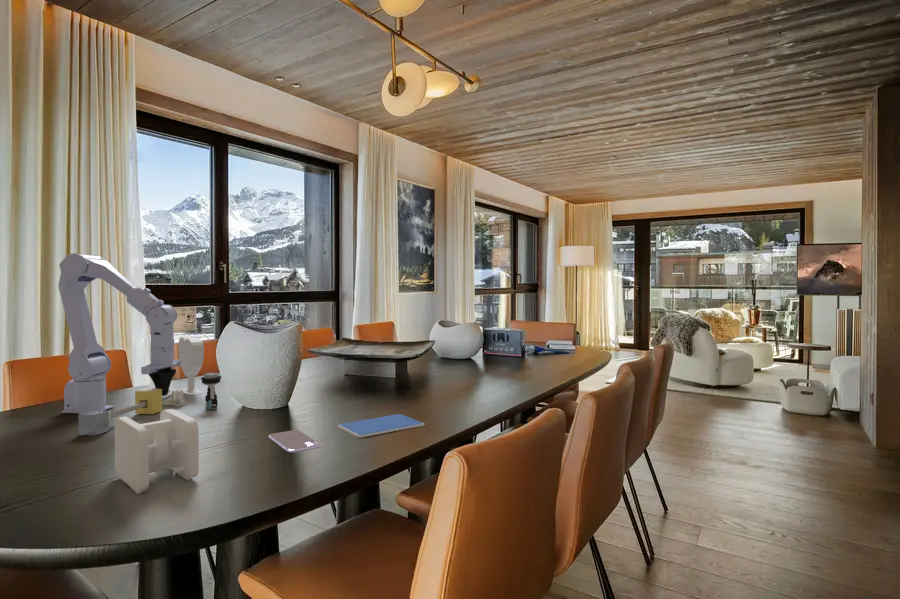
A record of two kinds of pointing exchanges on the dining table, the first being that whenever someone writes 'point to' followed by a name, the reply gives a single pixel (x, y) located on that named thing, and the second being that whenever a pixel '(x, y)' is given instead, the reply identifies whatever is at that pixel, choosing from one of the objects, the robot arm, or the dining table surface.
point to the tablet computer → (380, 425)
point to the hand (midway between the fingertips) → (162, 395)
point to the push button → (211, 389)
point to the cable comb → (174, 398)
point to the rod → (135, 407)
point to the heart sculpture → (191, 359)
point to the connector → (94, 422)
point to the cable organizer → (156, 448)
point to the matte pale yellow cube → (149, 400)
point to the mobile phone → (294, 441)
